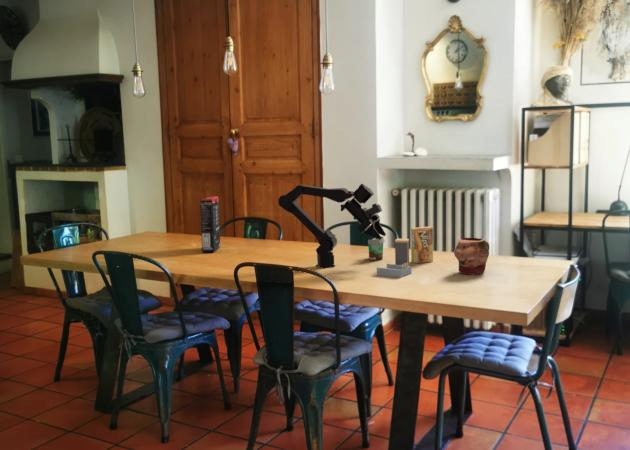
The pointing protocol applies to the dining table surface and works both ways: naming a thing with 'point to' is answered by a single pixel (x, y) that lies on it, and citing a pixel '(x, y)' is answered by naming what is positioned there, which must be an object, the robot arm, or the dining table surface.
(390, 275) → the header shroud
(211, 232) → the graphics card box
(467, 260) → the decorative planter
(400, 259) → the plug block
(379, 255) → the food container
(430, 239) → the candy box
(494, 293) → the dining table surface
